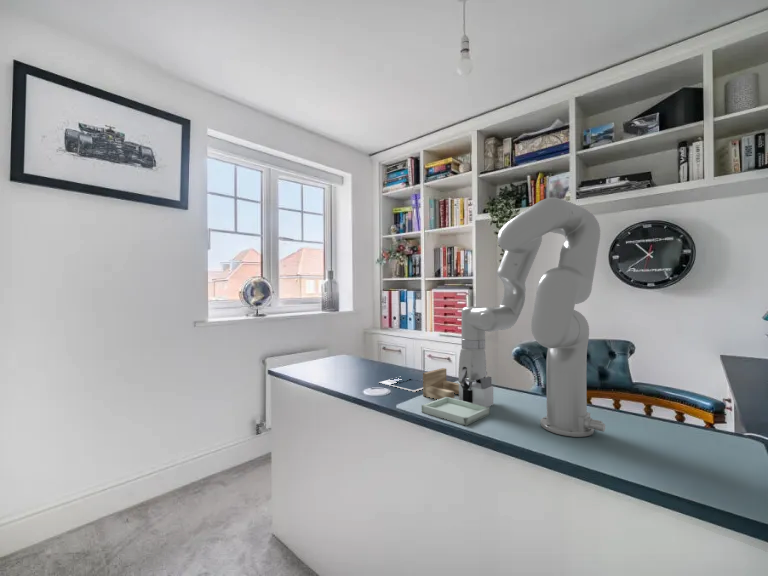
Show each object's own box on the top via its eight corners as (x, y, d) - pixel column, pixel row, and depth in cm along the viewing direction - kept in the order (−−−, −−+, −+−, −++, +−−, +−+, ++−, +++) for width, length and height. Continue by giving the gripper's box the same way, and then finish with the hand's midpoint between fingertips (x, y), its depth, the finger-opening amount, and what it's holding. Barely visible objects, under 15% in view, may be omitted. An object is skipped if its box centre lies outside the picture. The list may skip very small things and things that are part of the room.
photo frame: (402, 375, 154) (437, 383, 141) (402, 378, 154) (437, 386, 141) (378, 381, 143) (414, 390, 131) (378, 384, 143) (414, 393, 131)
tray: (489, 414, 107) (489, 407, 107) (466, 425, 98) (466, 418, 98) (446, 402, 118) (446, 396, 118) (421, 411, 110) (421, 405, 110)
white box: (493, 404, 116) (493, 376, 117) (483, 409, 112) (483, 379, 112) (469, 398, 123) (468, 372, 123) (458, 402, 119) (458, 375, 119)
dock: (470, 396, 126) (470, 373, 126) (450, 403, 118) (450, 378, 118) (443, 389, 134) (443, 368, 134) (423, 396, 126) (423, 373, 126)
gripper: (477, 340, 127) (477, 392, 127) (448, 346, 115) (448, 403, 115) (497, 343, 122) (497, 396, 122) (468, 348, 110) (468, 408, 110)
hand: (473, 399), depth 118 cm, fingers closed on white box, 6 cm apart
